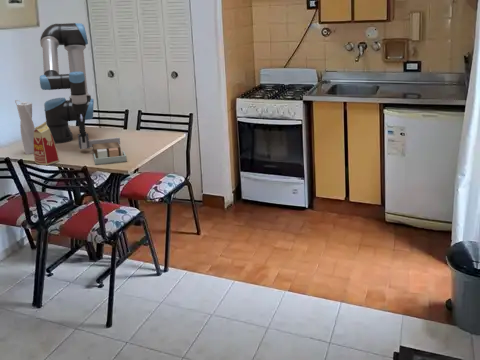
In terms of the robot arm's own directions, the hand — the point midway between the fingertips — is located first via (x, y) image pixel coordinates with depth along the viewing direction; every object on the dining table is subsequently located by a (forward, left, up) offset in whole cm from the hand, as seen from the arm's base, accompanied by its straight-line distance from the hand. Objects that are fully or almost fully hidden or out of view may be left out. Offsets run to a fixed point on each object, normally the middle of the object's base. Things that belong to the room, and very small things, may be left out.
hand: (84, 147), depth 293 cm
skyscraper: (-27, +9, -3) cm, 29 cm away
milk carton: (-19, -13, -3) cm, 23 cm away
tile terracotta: (+13, -16, 0) cm, 21 cm away
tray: (+11, -21, -3) cm, 24 cm away
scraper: (+8, 0, 0) cm, 8 cm away
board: (+11, -10, -3) cm, 15 cm away
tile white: (+8, -16, 0) cm, 18 cm away
